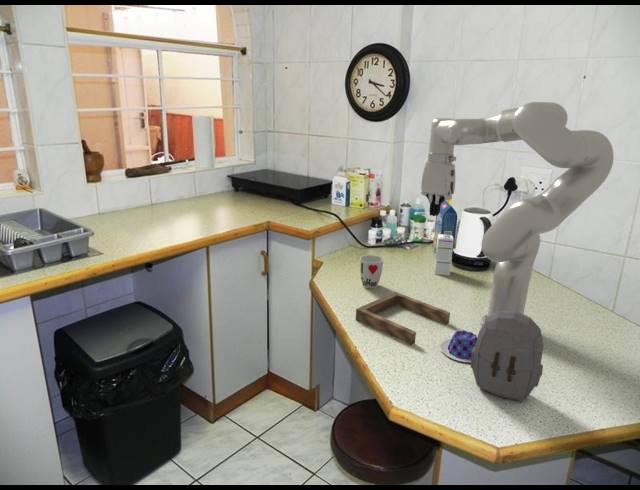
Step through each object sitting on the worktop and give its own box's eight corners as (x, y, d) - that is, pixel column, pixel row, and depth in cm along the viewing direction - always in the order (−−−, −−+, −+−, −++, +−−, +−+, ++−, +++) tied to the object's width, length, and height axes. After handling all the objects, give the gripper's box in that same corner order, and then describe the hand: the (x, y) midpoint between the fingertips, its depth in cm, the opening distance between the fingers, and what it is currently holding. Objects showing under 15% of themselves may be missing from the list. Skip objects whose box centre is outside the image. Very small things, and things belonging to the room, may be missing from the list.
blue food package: (446, 249, 205) (453, 193, 197) (452, 258, 194) (460, 200, 186) (432, 249, 205) (438, 193, 198) (437, 258, 194) (444, 199, 186)
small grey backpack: (538, 394, 106) (554, 315, 100) (533, 414, 99) (550, 330, 93) (471, 373, 113) (482, 298, 107) (462, 391, 106) (473, 312, 100)
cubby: (448, 323, 138) (450, 312, 137) (411, 345, 125) (412, 333, 124) (394, 301, 151) (395, 291, 150) (355, 319, 138) (356, 308, 137)
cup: (354, 286, 162) (356, 260, 159) (363, 279, 169) (365, 253, 166) (376, 291, 159) (378, 264, 156) (384, 284, 165) (386, 257, 162)
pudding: (474, 370, 115) (477, 352, 113) (431, 352, 122) (433, 334, 121) (494, 352, 123) (497, 334, 122) (452, 336, 131) (454, 319, 129)
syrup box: (450, 276, 175) (454, 239, 170) (434, 274, 176) (438, 237, 171) (449, 270, 180) (453, 234, 176) (433, 269, 181) (437, 233, 177)
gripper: (467, 160, 144) (460, 217, 150) (426, 155, 154) (421, 209, 160) (455, 162, 139) (448, 221, 145) (413, 156, 149) (408, 212, 155)
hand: (434, 215), depth 152 cm, fingers closed
